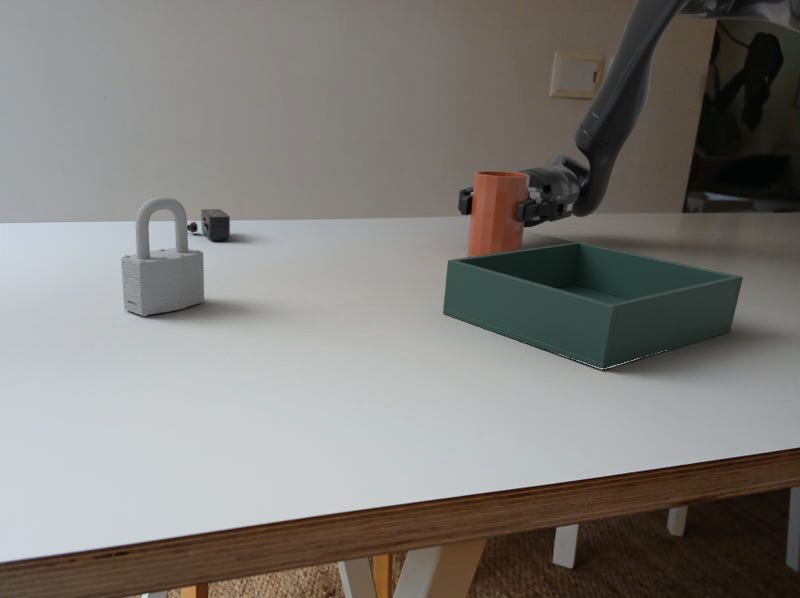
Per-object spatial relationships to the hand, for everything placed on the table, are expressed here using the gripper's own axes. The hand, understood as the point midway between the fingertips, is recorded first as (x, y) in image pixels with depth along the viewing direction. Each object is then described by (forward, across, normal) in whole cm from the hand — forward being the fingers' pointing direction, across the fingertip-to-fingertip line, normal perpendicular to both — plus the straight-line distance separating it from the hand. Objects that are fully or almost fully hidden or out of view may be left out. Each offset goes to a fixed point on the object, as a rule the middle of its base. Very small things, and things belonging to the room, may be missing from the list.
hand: (491, 209), depth 88 cm
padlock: (+39, -16, +6) cm, 42 cm away
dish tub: (+18, +17, +6) cm, 25 cm away
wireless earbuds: (+11, -35, +6) cm, 37 cm away
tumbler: (-2, 0, +6) cm, 6 cm away
